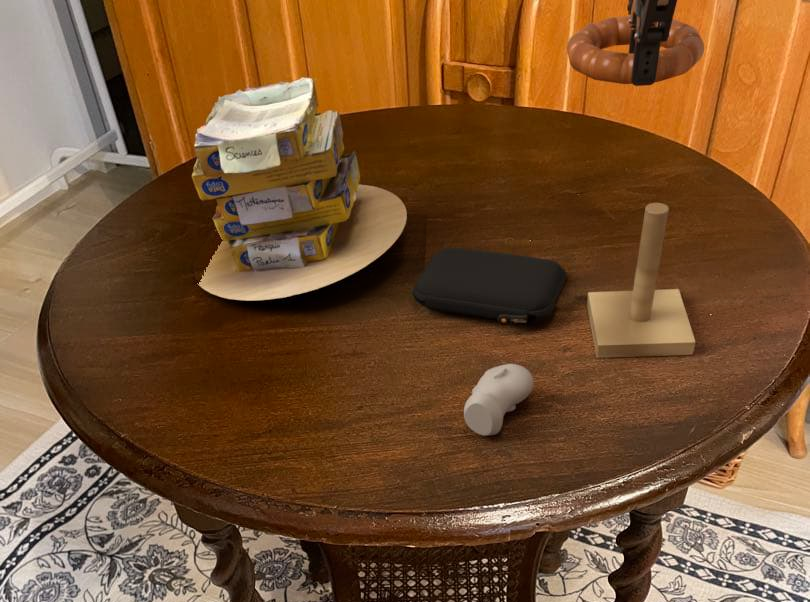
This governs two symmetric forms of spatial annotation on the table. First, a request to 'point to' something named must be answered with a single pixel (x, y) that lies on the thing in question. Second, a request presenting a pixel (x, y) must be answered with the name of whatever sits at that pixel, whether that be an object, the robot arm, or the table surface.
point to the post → (642, 305)
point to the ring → (617, 66)
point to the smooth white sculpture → (496, 397)
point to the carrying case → (491, 285)
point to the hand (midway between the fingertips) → (640, 76)
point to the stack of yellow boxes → (286, 196)
